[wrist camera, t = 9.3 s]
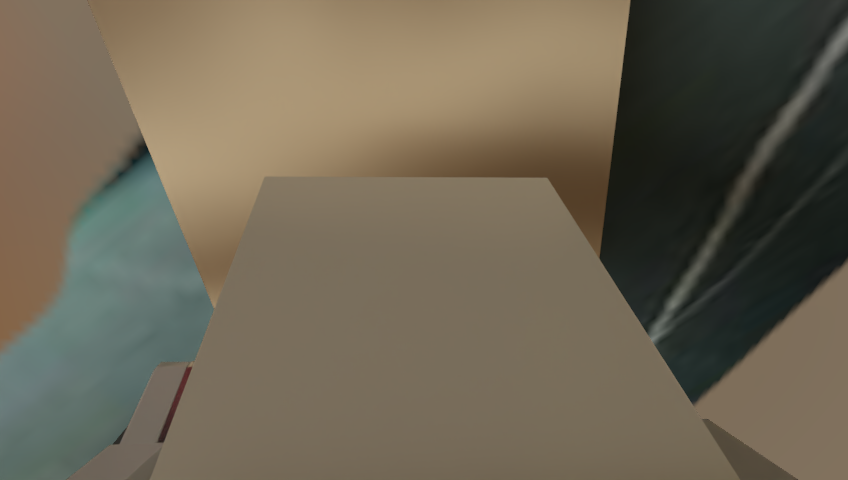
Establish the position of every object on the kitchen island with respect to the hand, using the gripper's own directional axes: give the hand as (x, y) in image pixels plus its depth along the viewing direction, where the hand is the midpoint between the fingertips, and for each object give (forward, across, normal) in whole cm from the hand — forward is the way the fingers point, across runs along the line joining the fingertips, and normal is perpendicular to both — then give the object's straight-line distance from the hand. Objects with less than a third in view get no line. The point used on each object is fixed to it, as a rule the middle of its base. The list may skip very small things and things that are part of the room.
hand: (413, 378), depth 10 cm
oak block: (+11, 0, 0) cm, 11 cm away
